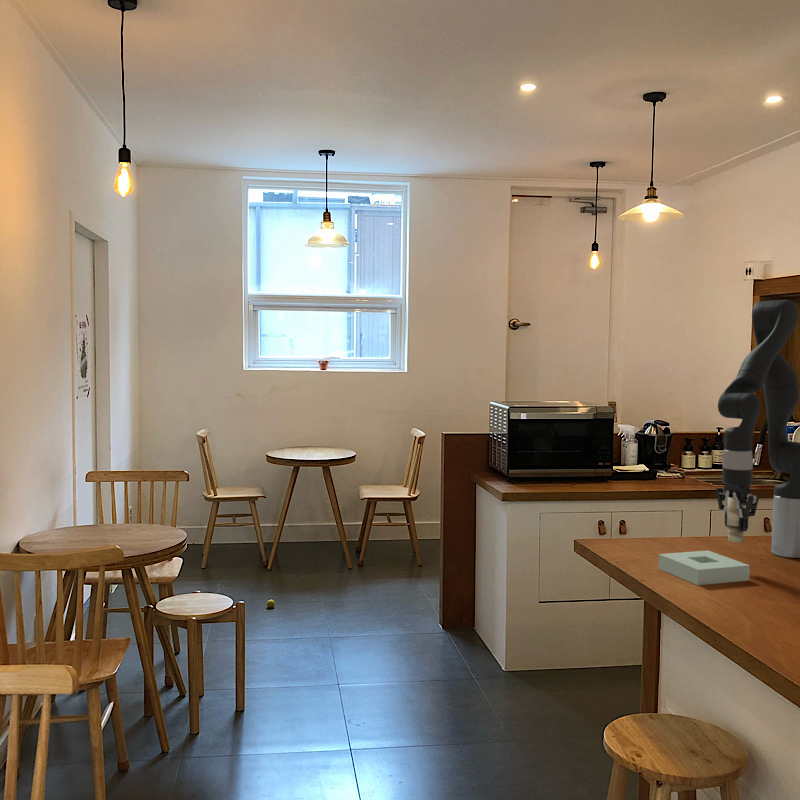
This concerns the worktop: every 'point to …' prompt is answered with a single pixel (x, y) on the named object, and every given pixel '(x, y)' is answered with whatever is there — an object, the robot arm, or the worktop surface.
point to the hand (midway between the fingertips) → (735, 528)
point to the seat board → (704, 567)
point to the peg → (734, 522)
